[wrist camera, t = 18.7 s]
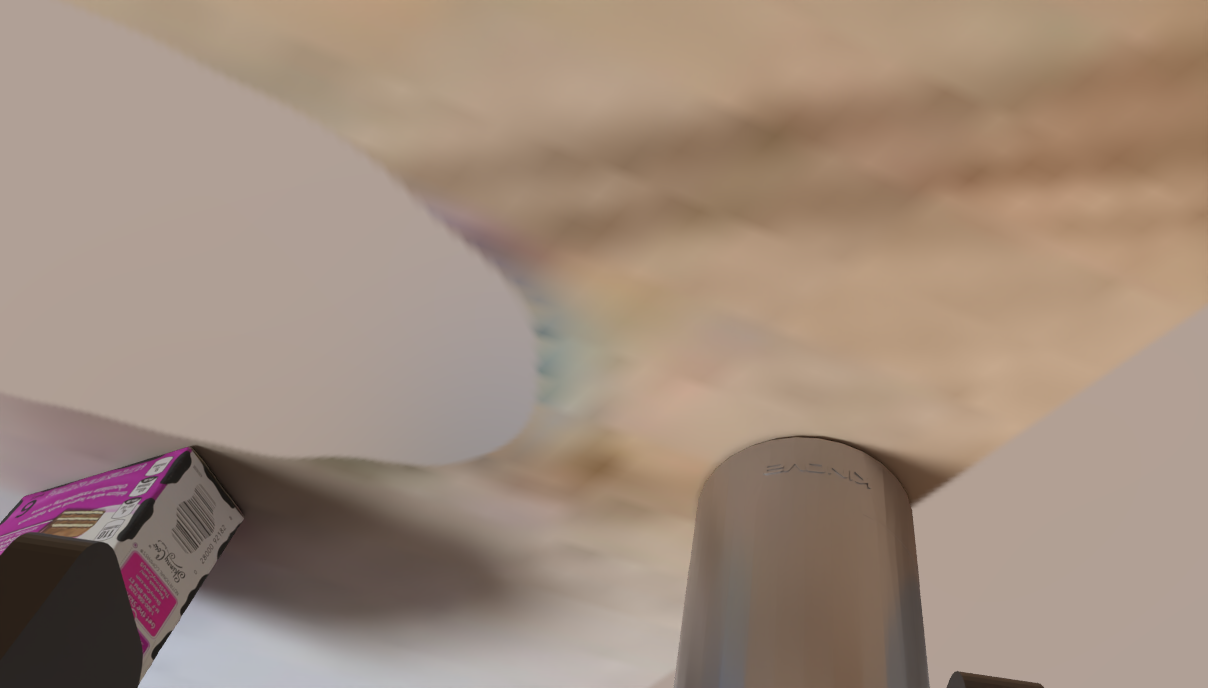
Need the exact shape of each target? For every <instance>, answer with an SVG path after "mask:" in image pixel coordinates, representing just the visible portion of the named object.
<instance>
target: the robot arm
mask: <svg viewBox="0 0 1208 688" xmlns="http://www.w3.org/2000/svg"><path fill="white" fill-rule="evenodd" d="M919 587H920V585H919V574H918V565H917V555H916V545H915V535H914V526H913V516H912V509H911V506H910V503H909V500H908V496H907V493H906V492H905V490H904V489H903V487H902V486H901V484H900V482H899V481H898V479H897V478H896V477H895V476H894V475H893V474H892V473H891V472H890V471H889V470H888V469H887V468H886V467H885V466H884V465H883V464H882V463H880V462H879V461H877V460H875V459H874V458H872V457H871V456H869V455H868V454H866V453H864V452H862V451H860V450H857V449H855V448H852V447H850V446H847V445H845V444H842V443H838V442H833V441H829V440H824V439H819V438H800V437H793V438H784V439H776V440H770V441H766V442H763V443H760V444H756V445H753V446H750V447H748V448H746V449H744V450H742V451H740V452H738V453H736V454H734V455H732V456H731V457H729V458H728V459H727V460H726V461H725V462H723V463H722V464H721V465H720V466H718V467H717V468H716V469H715V470H714V472H713V473H712V474H711V476H710V477H709V478H708V480H707V481H706V482H705V484H704V487H703V489H702V492H701V494H700V496H699V499H698V507H697V514H696V522H695V529H694V537H693V544H692V552H691V559H690V566H689V571H688V579H687V587H686V595H685V603H684V610H683V618H682V626H681V634H680V642H679V650H678V657H677V665H676V673H675V681H674V688H930V686H929V677H928V666H927V656H926V646H925V638H924V627H923V617H922V608H921V599H920V589H919ZM142 663H143V650H142V644H141V639H140V636H139V633H138V629H137V626H136V622H135V619H134V615H133V612H132V608H131V605H130V601H129V598H128V594H127V591H126V587H125V584H124V580H123V577H122V573H121V570H120V566H119V563H118V559H117V556H116V554H115V551H114V550H113V548H112V547H111V546H110V545H109V544H107V543H105V542H99V541H93V540H86V539H79V538H72V537H65V536H59V535H52V534H45V533H38V532H28V533H25V534H23V535H21V536H19V537H17V538H16V539H15V540H14V541H13V542H12V543H11V544H10V545H9V546H8V547H7V548H6V549H5V550H4V552H3V553H2V554H1V555H0V688H138V684H139V681H140V676H141V671H142ZM947 688H1044V687H1043V686H1042V685H1041V684H1039V683H1032V682H1026V681H1019V680H1012V679H1006V678H999V677H992V676H985V675H979V674H972V673H965V672H958V671H957V672H954V673H953V675H952V676H951V678H950V680H949V683H948V685H947Z"/></svg>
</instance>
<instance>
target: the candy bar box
mask: <svg viewBox="0 0 1208 688" xmlns="http://www.w3.org/2000/svg"><path fill="white" fill-rule="evenodd" d="M243 520H244V515H243V514H242V512H241V511H240V509H239V508H238V507H237V505H236V504H235V503H234V502H233V500H232V499H231V497H230V496H229V495H228V494H227V493H226V491H225V490H224V489H223V487H222V486H221V485H220V483H219V482H218V481H217V479H216V477H215V476H214V475H213V473H212V472H211V471H210V469H209V468H208V466H207V465H206V463H205V462H204V461H203V460H202V459H201V458H200V456H199V455H198V454H197V453H196V452H195V450H194V449H193V448H192V447H186V448H183V449H180V450H176V451H173V452H170V453H167V454H164V455H161V456H157V457H154V458H150V459H147V460H144V461H141V462H138V463H135V464H131V465H128V466H125V467H122V468H118V469H115V470H111V471H108V472H105V473H101V474H98V475H95V476H91V477H88V478H85V479H82V480H78V481H75V482H71V483H68V484H65V485H61V486H58V487H55V488H51V489H48V490H44V491H41V492H38V493H34V494H31V495H27V496H24V497H23V498H22V499H21V500H20V502H19V503H18V504H17V505H16V506H15V507H14V508H13V509H12V510H11V511H10V512H9V514H8V515H7V516H6V517H5V518H4V519H3V521H2V522H1V523H0V555H1V554H2V553H3V552H4V550H5V549H6V548H7V547H8V546H9V545H10V544H11V543H12V542H13V541H14V540H15V539H16V538H17V537H19V536H21V535H23V534H25V533H28V532H38V533H45V534H52V535H59V536H65V537H72V538H79V539H86V540H93V541H99V542H105V543H107V544H109V545H110V546H111V547H112V548H113V550H114V551H115V554H116V556H117V559H118V563H119V566H120V570H121V573H122V577H123V580H124V584H125V587H126V591H127V594H128V598H129V601H130V605H131V608H132V612H133V615H134V619H135V622H136V626H137V629H138V633H139V636H140V639H141V644H142V650H143V663H142V671H141V676H140V681H141V680H142V678H143V677H144V675H145V674H146V672H147V670H148V669H149V668H150V666H151V665H152V662H153V660H154V659H155V657H156V656H157V654H158V652H159V650H160V649H161V648H162V646H163V644H164V643H165V642H166V640H167V638H168V637H169V635H170V634H171V632H172V631H173V629H174V628H175V626H176V625H177V623H178V622H179V621H180V618H181V616H182V615H183V613H184V612H185V610H186V609H187V607H188V606H189V604H190V602H191V601H192V599H193V598H194V596H195V595H196V593H197V591H198V590H199V588H200V587H201V585H202V584H203V582H204V580H205V579H206V577H207V576H208V574H209V573H210V571H211V570H212V568H213V567H214V565H215V564H216V562H217V560H218V558H219V557H220V555H221V554H222V552H223V551H224V549H225V547H226V546H227V544H228V543H229V541H230V539H231V538H232V536H233V535H234V533H235V532H236V530H237V528H238V527H239V525H240V524H241V523H242V521H243ZM140 681H139V683H140ZM138 685H139V684H138Z"/></svg>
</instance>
